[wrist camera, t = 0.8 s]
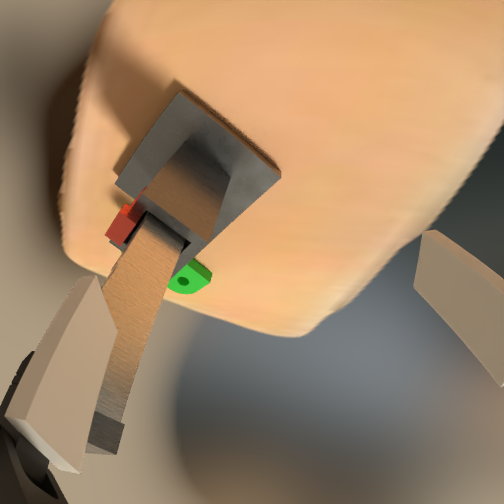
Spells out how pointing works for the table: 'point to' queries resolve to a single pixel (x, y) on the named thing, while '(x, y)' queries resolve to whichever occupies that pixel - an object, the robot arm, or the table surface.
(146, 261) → the column
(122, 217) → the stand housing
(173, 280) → the mechanical part
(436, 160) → the table surface
